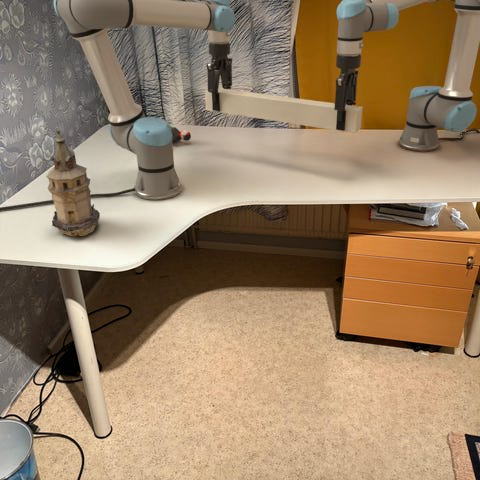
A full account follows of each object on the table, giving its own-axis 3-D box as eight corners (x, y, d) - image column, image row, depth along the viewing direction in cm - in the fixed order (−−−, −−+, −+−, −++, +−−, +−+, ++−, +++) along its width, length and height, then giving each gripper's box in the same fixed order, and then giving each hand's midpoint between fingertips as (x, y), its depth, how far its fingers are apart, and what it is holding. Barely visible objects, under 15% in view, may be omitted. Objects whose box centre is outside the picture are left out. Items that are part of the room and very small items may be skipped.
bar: (205, 110, 198) (204, 90, 195) (213, 106, 202) (212, 87, 199) (355, 133, 173) (357, 110, 169) (360, 129, 177) (362, 106, 173)
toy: (131, 118, 232) (198, 118, 226) (134, 133, 235) (199, 133, 229) (107, 138, 210) (180, 138, 204) (110, 153, 213) (182, 154, 207)
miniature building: (80, 214, 164) (63, 117, 149) (111, 225, 157) (96, 125, 142) (44, 231, 154) (22, 130, 140) (75, 244, 147) (55, 139, 133)
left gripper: (213, 47, 178) (215, 116, 189) (241, 39, 192) (242, 104, 203) (195, 45, 181) (198, 113, 193) (224, 38, 195) (225, 101, 206)
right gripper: (349, 60, 157) (344, 137, 168) (370, 49, 170) (364, 121, 182) (325, 58, 160) (322, 133, 172) (348, 47, 174) (343, 118, 185)
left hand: (220, 108), depth 198 cm, fingers closed on bar, 5 cm apart
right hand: (343, 127), depth 177 cm, fingers closed on bar, 5 cm apart
